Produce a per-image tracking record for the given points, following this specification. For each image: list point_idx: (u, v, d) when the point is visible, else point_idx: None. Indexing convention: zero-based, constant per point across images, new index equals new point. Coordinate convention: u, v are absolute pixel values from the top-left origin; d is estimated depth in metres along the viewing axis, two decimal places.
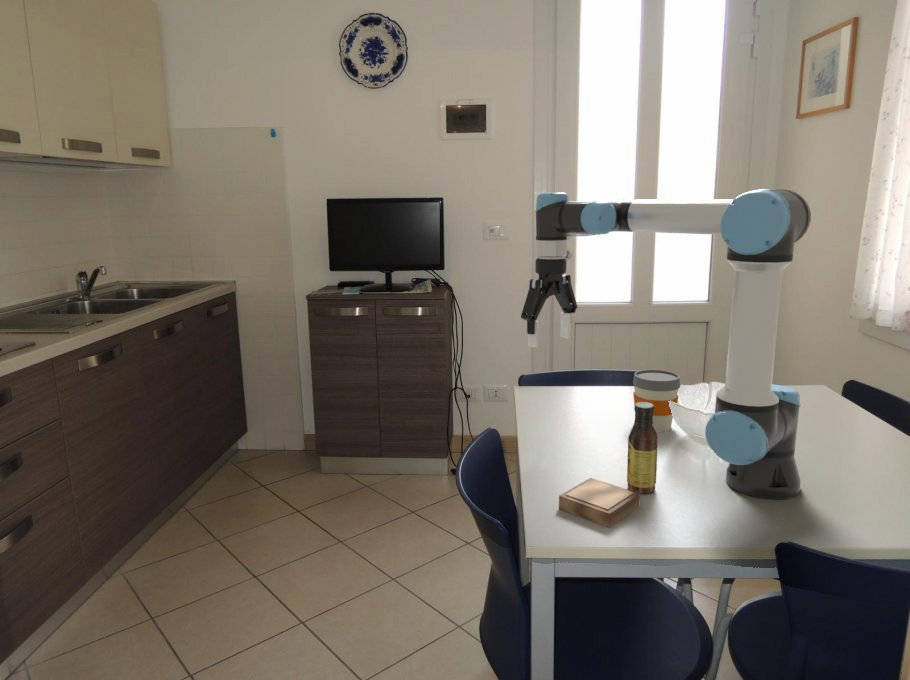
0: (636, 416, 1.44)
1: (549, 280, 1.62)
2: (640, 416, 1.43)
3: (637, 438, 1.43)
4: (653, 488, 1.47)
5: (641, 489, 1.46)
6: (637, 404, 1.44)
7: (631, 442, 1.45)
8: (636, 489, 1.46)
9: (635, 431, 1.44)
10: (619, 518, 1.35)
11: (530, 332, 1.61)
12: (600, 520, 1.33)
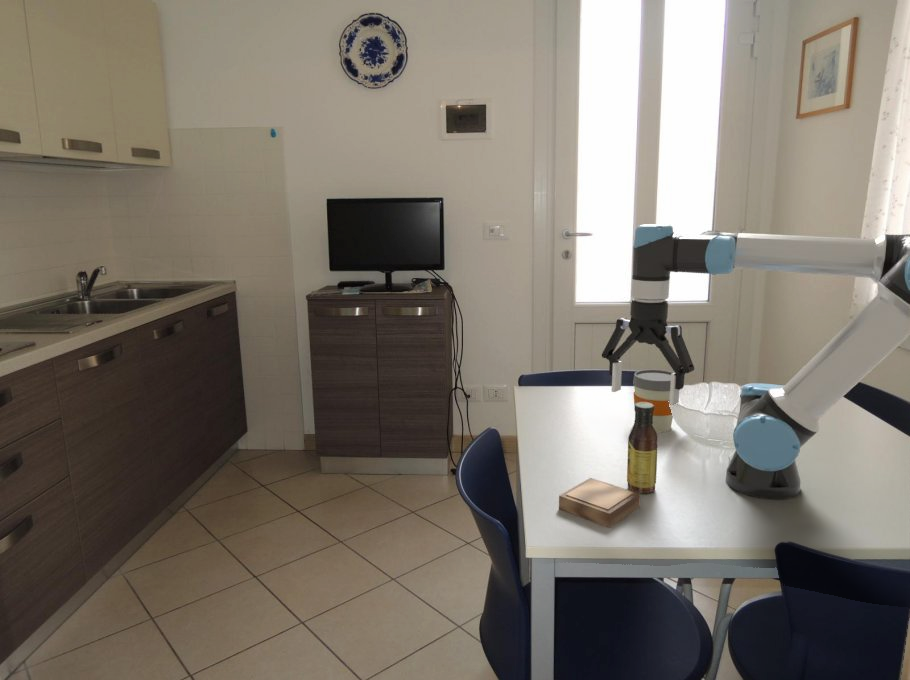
0: (636, 416, 1.44)
1: (637, 324, 1.41)
2: (640, 416, 1.43)
3: (637, 438, 1.43)
4: (653, 488, 1.47)
5: (641, 489, 1.46)
6: (637, 404, 1.44)
7: (631, 442, 1.45)
8: (636, 489, 1.46)
9: (635, 431, 1.44)
10: (619, 518, 1.35)
11: None
12: (600, 520, 1.33)
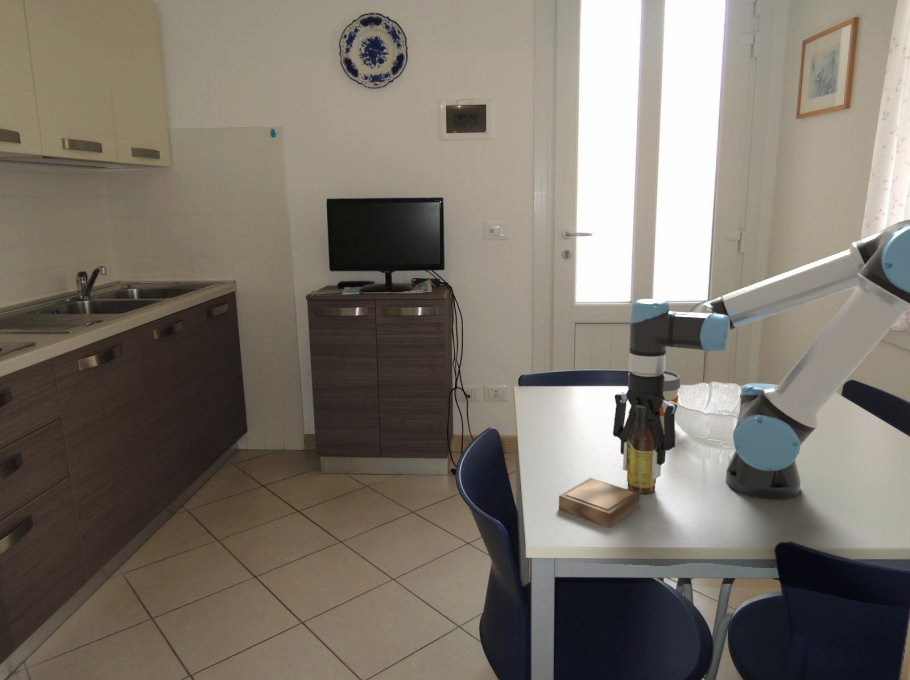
0: (636, 416, 1.44)
1: (633, 393, 1.45)
2: (640, 416, 1.43)
3: (637, 438, 1.43)
4: (653, 488, 1.47)
5: (641, 489, 1.46)
6: None
7: (630, 442, 1.45)
8: (636, 489, 1.46)
9: (635, 431, 1.44)
10: (619, 518, 1.35)
11: None
12: (600, 520, 1.33)
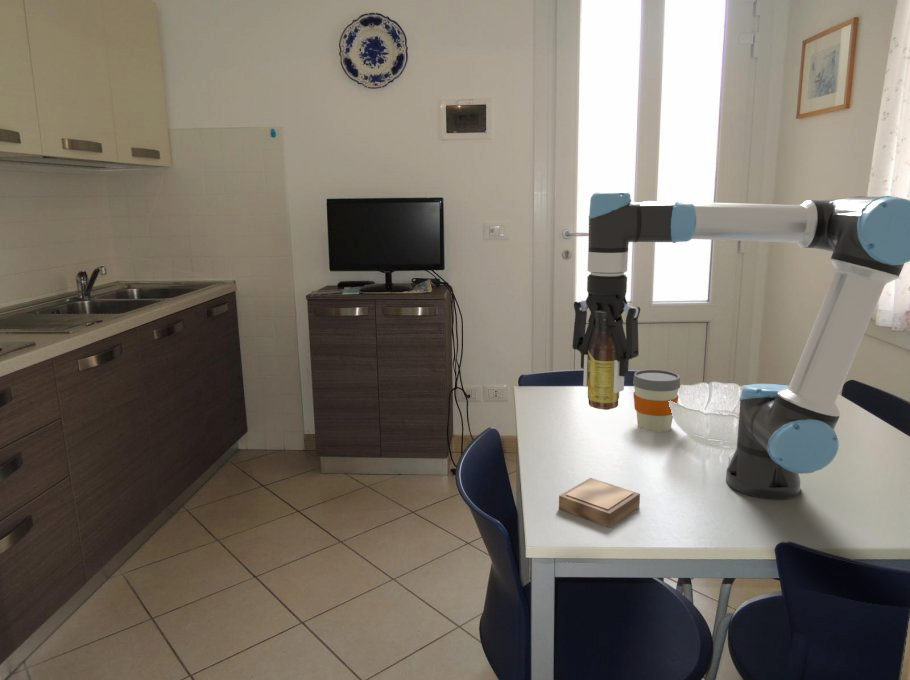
0: (596, 323, 1.31)
1: (593, 298, 1.31)
2: (600, 322, 1.30)
3: (597, 347, 1.30)
4: (616, 404, 1.33)
5: (602, 404, 1.33)
6: None
7: (590, 352, 1.32)
8: (597, 405, 1.33)
9: (595, 340, 1.31)
10: (619, 518, 1.35)
11: None
12: (600, 520, 1.33)
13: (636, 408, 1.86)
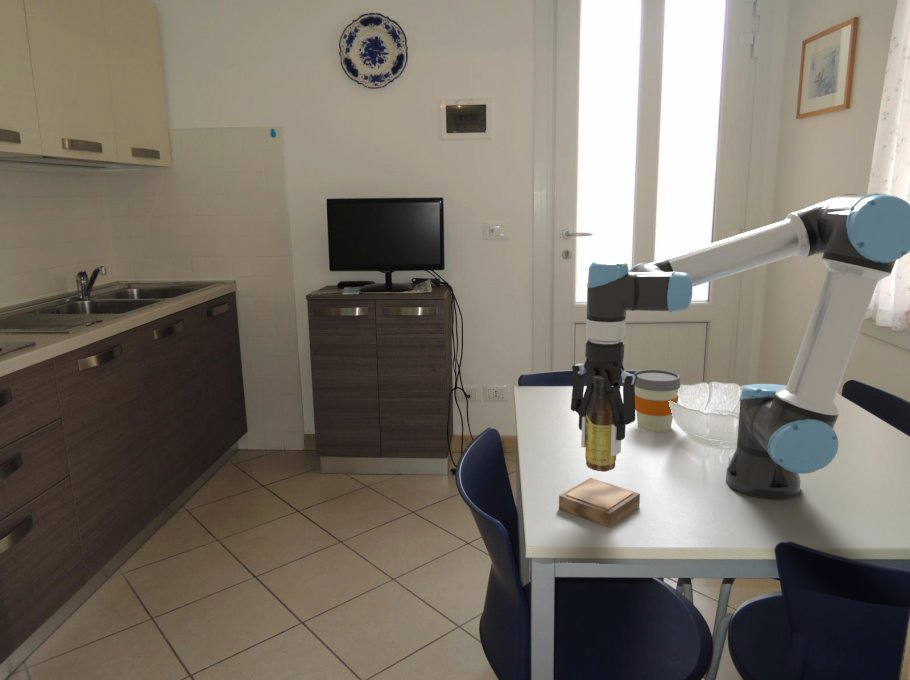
0: (594, 388, 1.34)
1: (591, 363, 1.34)
2: (597, 387, 1.33)
3: (595, 411, 1.33)
4: (613, 466, 1.36)
5: (600, 467, 1.35)
6: None
7: (588, 416, 1.35)
8: (594, 467, 1.36)
9: (593, 404, 1.34)
10: (619, 518, 1.35)
11: None
12: (600, 520, 1.33)
13: (636, 408, 1.86)
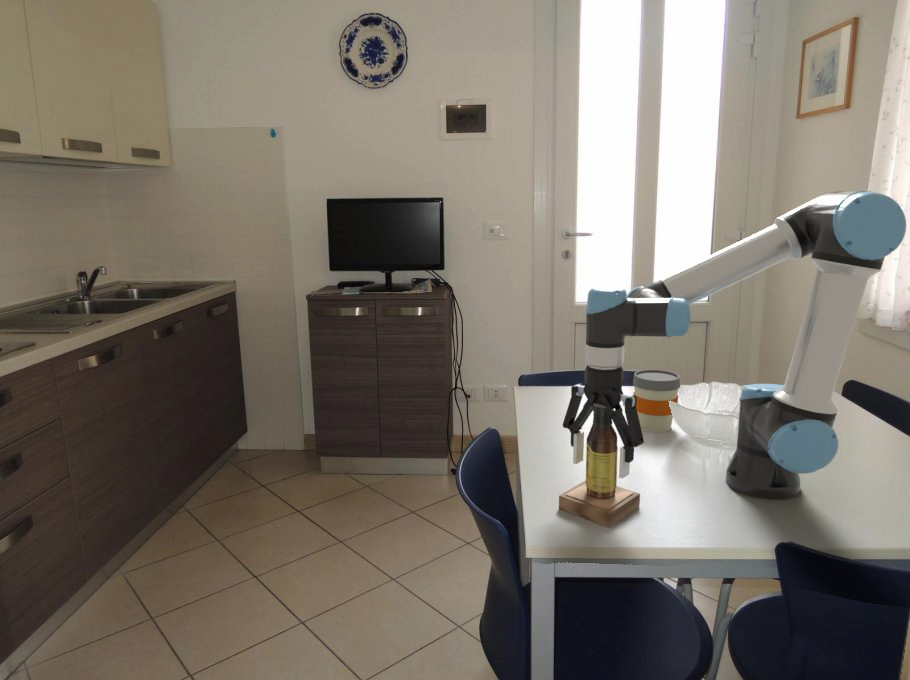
0: (594, 416, 1.35)
1: (591, 389, 1.35)
2: (598, 416, 1.34)
3: (595, 440, 1.34)
4: (613, 493, 1.37)
5: (600, 494, 1.37)
6: (595, 403, 1.35)
7: (589, 444, 1.36)
8: (595, 494, 1.37)
9: (593, 432, 1.35)
10: (619, 518, 1.35)
11: None
12: (600, 520, 1.33)
13: None
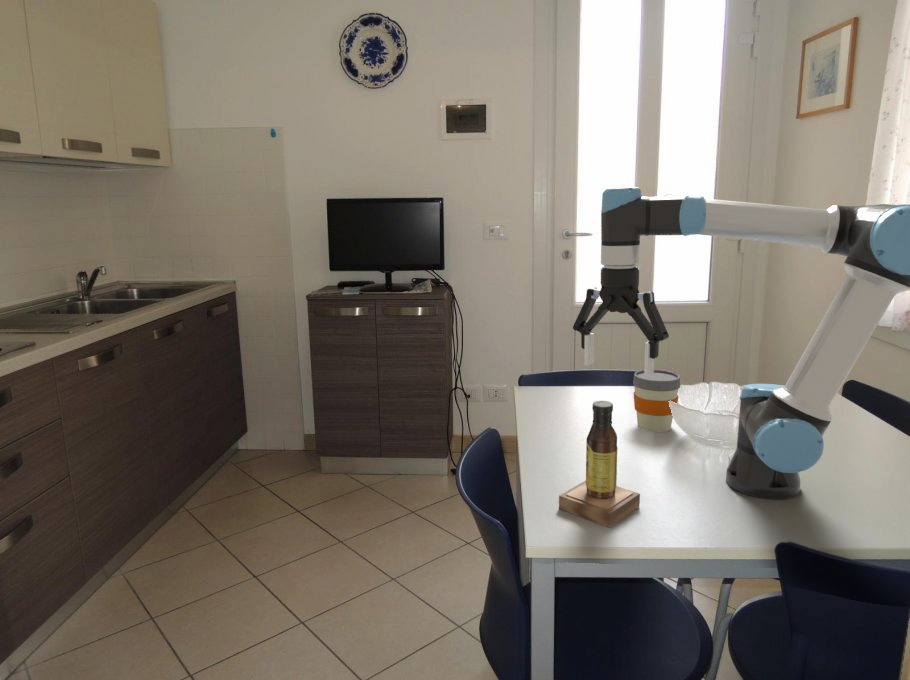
0: (594, 416, 1.35)
1: (608, 292, 1.36)
2: (598, 416, 1.34)
3: (595, 439, 1.34)
4: (613, 493, 1.37)
5: (600, 494, 1.37)
6: (595, 403, 1.35)
7: (589, 443, 1.36)
8: (595, 494, 1.37)
9: (593, 432, 1.35)
10: (619, 518, 1.35)
11: None
12: (600, 520, 1.33)
13: (636, 408, 1.86)
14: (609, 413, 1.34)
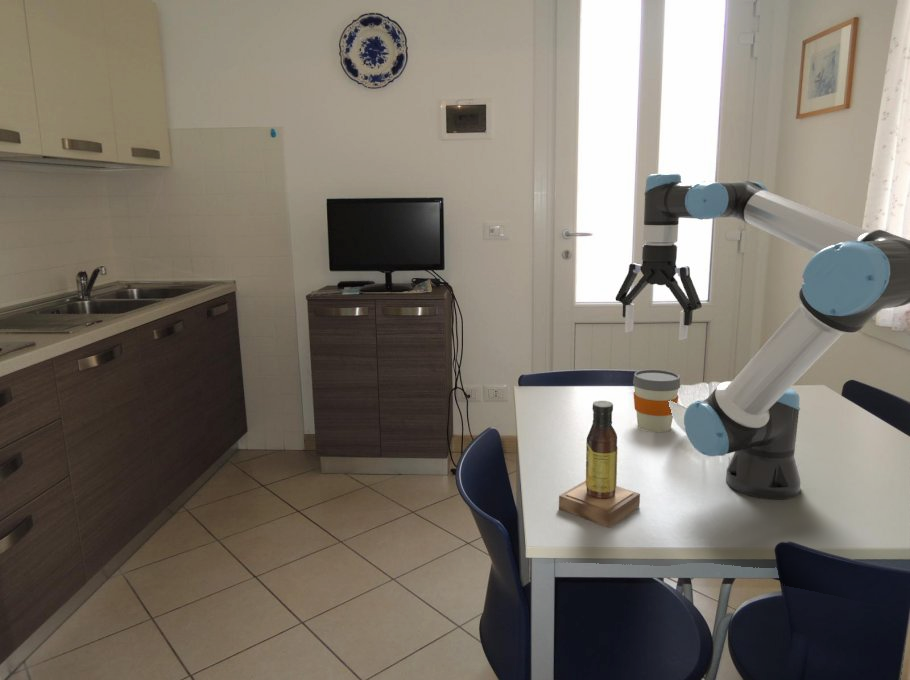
0: (594, 416, 1.35)
1: (648, 267, 1.54)
2: (598, 416, 1.34)
3: (595, 439, 1.34)
4: (613, 493, 1.37)
5: (600, 494, 1.37)
6: (595, 403, 1.35)
7: (589, 443, 1.36)
8: (595, 494, 1.37)
9: (593, 432, 1.35)
10: (619, 518, 1.35)
11: None
12: (600, 520, 1.33)
13: (636, 408, 1.86)
14: (609, 413, 1.34)
